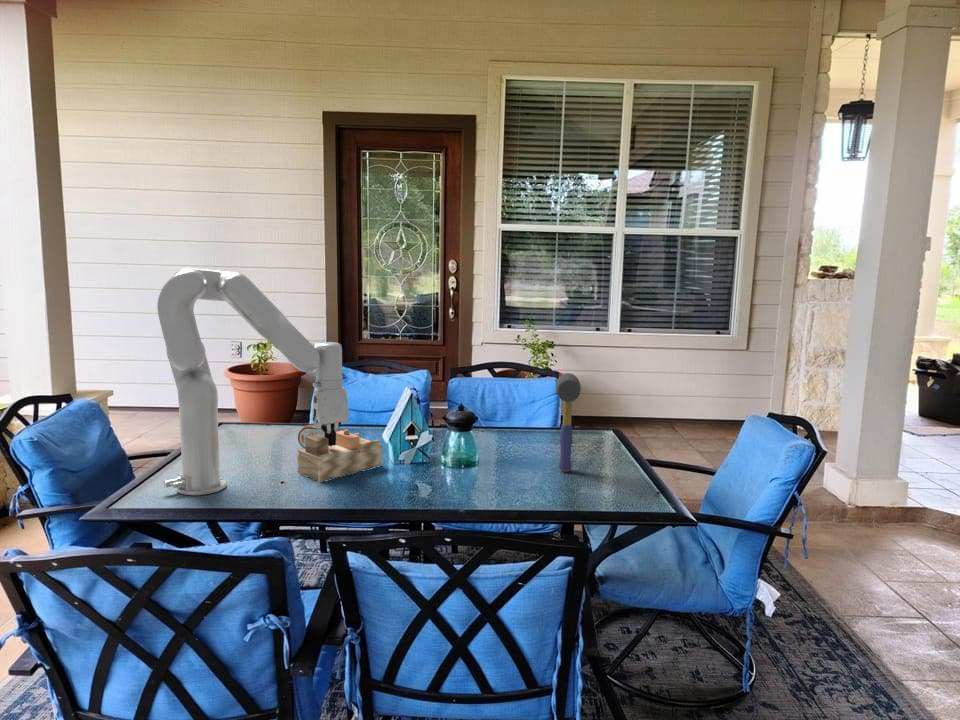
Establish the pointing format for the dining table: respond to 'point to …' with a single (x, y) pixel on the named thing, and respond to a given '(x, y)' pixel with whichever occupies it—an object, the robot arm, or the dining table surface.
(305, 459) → the toolbox
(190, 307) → the robot arm
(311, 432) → the tin
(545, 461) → the dining table surface
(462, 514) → the dining table surface
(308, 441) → the lid
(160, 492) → the dining table surface
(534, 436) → the dining table surface
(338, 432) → the peach boxy piece
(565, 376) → the rubber mallet
